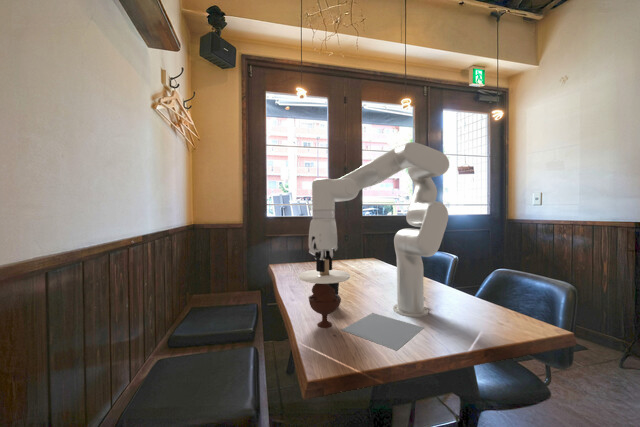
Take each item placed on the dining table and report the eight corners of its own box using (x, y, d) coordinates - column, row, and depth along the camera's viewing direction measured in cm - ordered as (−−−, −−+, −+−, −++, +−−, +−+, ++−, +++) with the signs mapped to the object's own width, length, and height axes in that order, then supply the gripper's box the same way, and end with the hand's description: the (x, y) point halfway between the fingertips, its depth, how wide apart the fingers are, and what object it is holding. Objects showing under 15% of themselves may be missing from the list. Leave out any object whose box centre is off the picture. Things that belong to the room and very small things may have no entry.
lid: (322, 269, 98) (322, 254, 98) (360, 276, 87) (359, 258, 87) (288, 277, 86) (288, 260, 86) (327, 286, 74) (326, 266, 74)
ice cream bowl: (339, 334, 80) (338, 286, 80) (304, 331, 82) (304, 284, 82) (343, 320, 90) (342, 277, 90) (312, 318, 92) (311, 276, 92)
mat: (372, 314, 96) (372, 312, 96) (424, 329, 83) (424, 327, 83) (341, 331, 82) (341, 329, 82) (396, 352, 69) (396, 350, 69)
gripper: (330, 215, 95) (331, 265, 95) (297, 216, 83) (298, 273, 83) (347, 215, 90) (348, 268, 90) (314, 215, 78) (315, 276, 78)
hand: (324, 270), depth 86 cm, fingers closed on lid, 3 cm apart
